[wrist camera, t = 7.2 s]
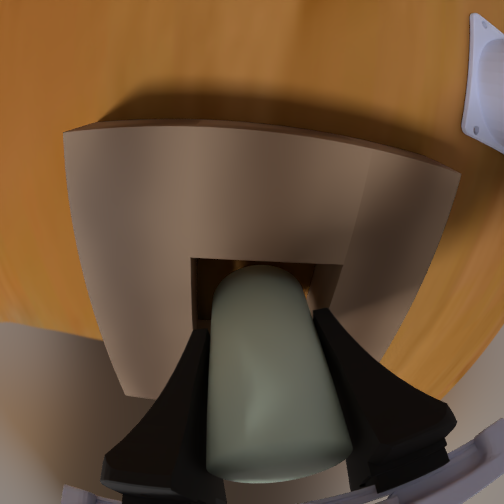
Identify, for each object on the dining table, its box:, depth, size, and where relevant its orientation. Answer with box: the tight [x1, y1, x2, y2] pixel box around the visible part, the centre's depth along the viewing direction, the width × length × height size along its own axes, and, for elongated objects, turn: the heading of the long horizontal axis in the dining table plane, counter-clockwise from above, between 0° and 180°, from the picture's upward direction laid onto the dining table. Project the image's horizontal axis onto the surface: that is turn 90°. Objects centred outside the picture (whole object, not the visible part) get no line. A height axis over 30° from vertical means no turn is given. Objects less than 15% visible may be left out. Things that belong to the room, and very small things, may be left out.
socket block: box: [63, 119, 461, 399], centre depth 14 cm, size 16×16×3 cm
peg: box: [206, 265, 353, 483], centre depth 10 cm, size 4×4×8 cm
